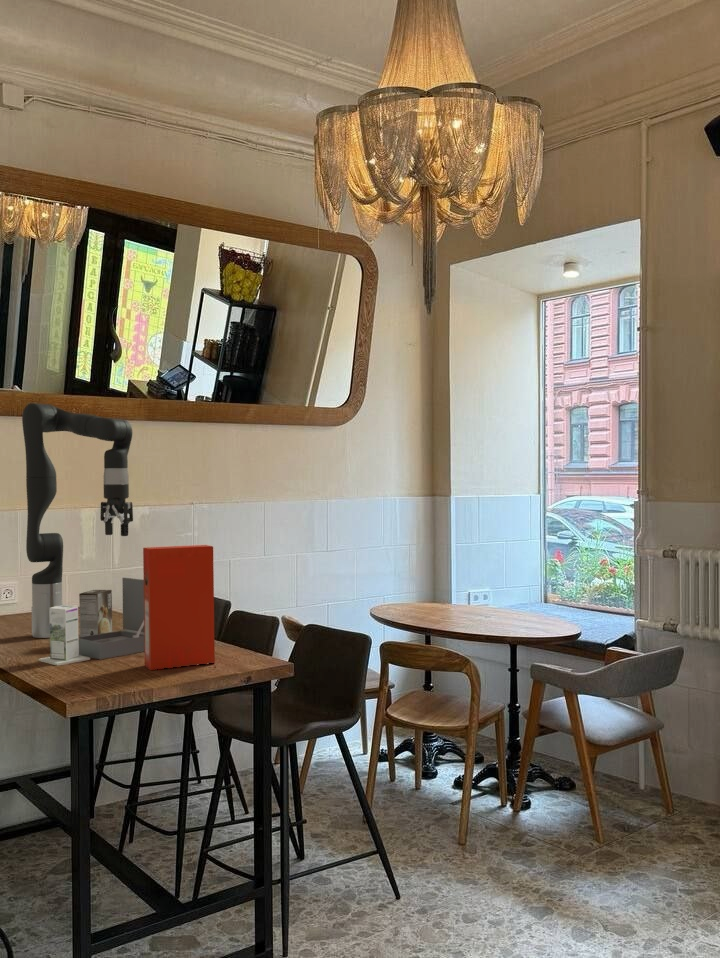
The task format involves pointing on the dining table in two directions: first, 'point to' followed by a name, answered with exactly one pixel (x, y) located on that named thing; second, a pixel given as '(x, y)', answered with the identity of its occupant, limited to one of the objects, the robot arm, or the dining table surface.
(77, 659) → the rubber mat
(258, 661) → the dining table surface
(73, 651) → the syrup box
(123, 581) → the case
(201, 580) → the file binder
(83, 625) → the coffee box
